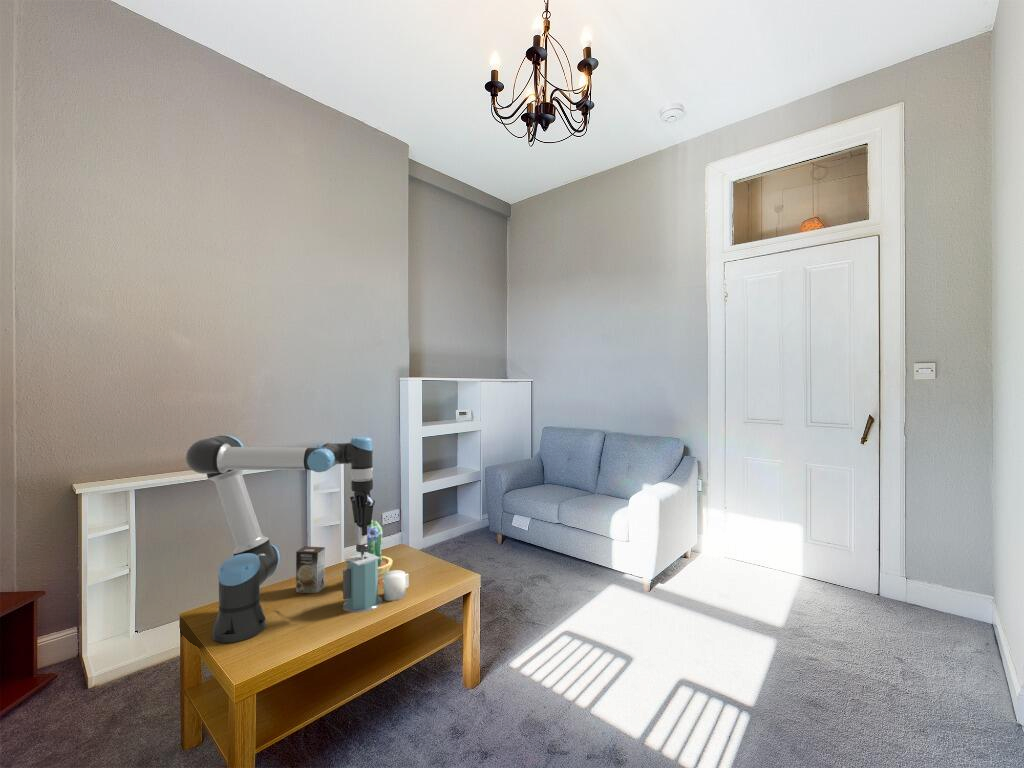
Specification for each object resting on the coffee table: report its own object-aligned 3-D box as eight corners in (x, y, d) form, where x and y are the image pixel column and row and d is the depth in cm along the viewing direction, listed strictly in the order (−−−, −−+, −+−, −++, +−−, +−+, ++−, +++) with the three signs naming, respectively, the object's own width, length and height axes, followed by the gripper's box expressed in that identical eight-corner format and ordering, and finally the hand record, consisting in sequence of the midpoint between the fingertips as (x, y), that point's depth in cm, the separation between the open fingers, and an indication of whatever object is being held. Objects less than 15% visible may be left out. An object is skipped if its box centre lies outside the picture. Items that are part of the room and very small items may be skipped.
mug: (391, 605, 171) (391, 580, 171) (379, 598, 176) (379, 574, 176) (414, 595, 179) (414, 571, 179) (401, 589, 184) (401, 566, 184)
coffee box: (295, 592, 182) (294, 551, 182) (304, 585, 188) (303, 546, 188) (317, 593, 181) (317, 552, 181) (325, 586, 187) (325, 546, 187)
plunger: (358, 595, 165) (358, 549, 166) (347, 589, 170) (347, 544, 171) (377, 588, 171) (377, 543, 171) (366, 583, 176) (365, 539, 176)
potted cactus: (345, 587, 186) (345, 524, 186) (368, 572, 201) (367, 514, 201) (379, 592, 181) (378, 528, 182) (399, 576, 196) (399, 517, 196)
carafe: (351, 614, 162) (351, 567, 162) (336, 606, 168) (336, 560, 169) (382, 602, 171) (382, 557, 171) (367, 594, 178) (367, 551, 178)
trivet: (355, 618, 161) (355, 616, 161) (335, 606, 170) (335, 604, 170) (390, 604, 171) (390, 601, 171) (369, 593, 181) (369, 591, 181)
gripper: (381, 479, 170) (381, 544, 169) (361, 475, 178) (362, 537, 178) (362, 483, 164) (363, 550, 164) (343, 478, 173) (344, 542, 172)
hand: (362, 543), depth 171 cm, fingers closed
